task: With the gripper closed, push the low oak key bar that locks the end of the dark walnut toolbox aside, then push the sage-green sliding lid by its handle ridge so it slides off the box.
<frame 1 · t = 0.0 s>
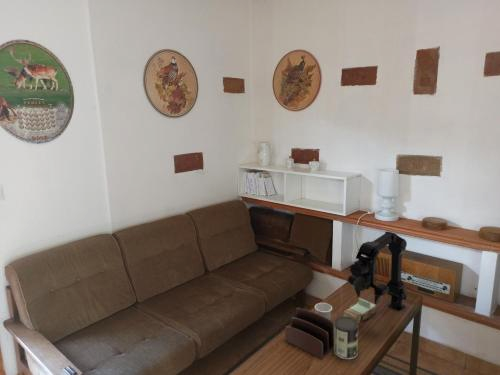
hand: (366, 300, 170), 15 cm above the table, fingers open, 9 cm apart
letter holder: (309, 344, 162), on the table
coffee can: (345, 352, 157), on the table
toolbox: (362, 313, 185), on the table
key: (352, 320, 179), on the table
dixie cup: (323, 325, 176), on the table
lid: (363, 304, 184), point 5 cm above the table, slide at 0.0 cm
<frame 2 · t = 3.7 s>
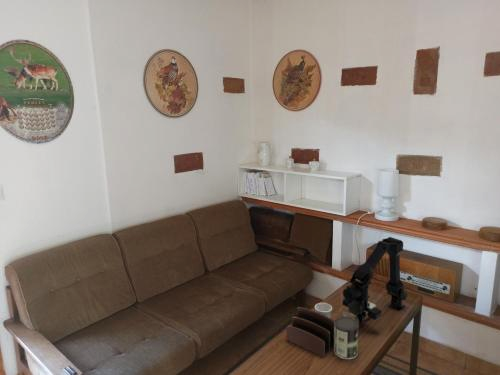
hand: (360, 323, 175), 1 cm above the table, fingers closed
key: (351, 320, 179), on the table, touching gripper
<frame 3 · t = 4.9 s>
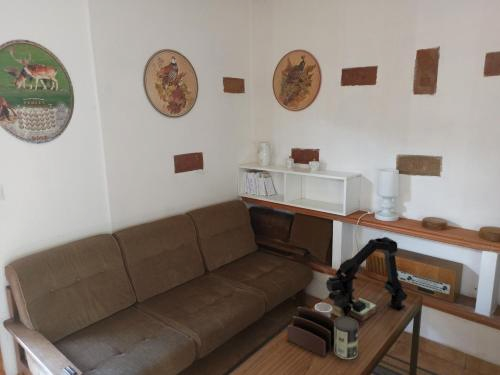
hand: (346, 315, 181), 1 cm above the table, fingers closed
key: (337, 313, 186), on the table, touching gripper
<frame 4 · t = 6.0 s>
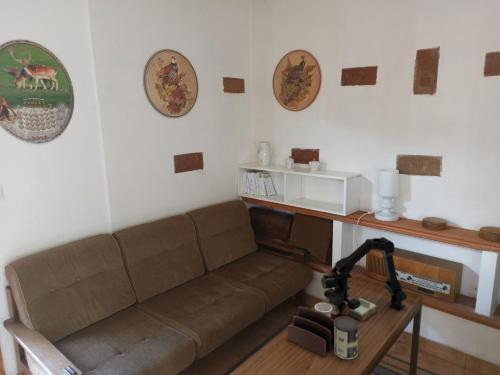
hand: (341, 313, 184), 1 cm above the table, fingers closed
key: (332, 310, 188), on the table, touching gripper
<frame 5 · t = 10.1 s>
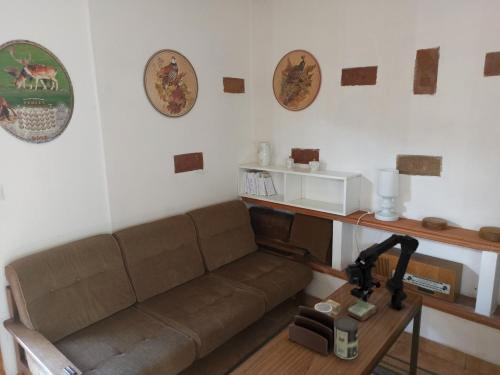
hand: (364, 303, 185), 5 cm above the table, fingers closed
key: (332, 311, 188), on the table
lid: (361, 305, 183), point 5 cm above the table, slide at 1.1 cm, touching gripper
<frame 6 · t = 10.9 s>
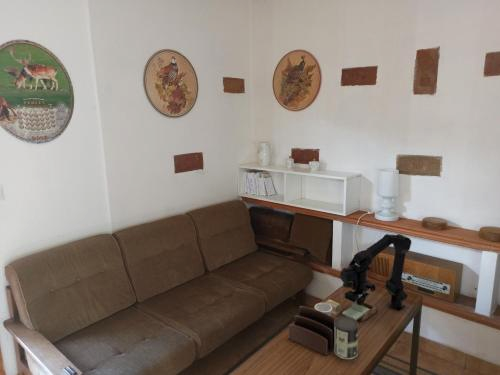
hand: (359, 306, 182), 5 cm above the table, fingers closed
lid: (356, 308, 180), point 5 cm above the table, slide at 5.8 cm, touching gripper
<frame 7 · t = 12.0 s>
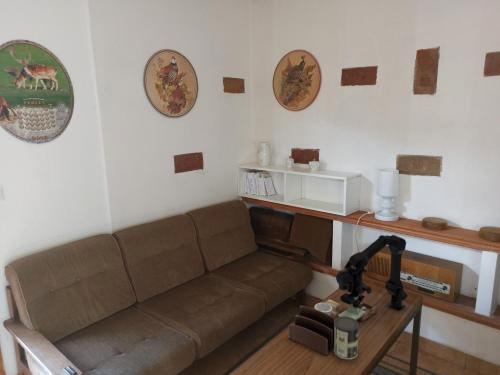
hand: (355, 309, 180), 5 cm above the table, fingers closed
lid: (352, 311, 178), point 5 cm above the table, slide at 9.4 cm, touching gripper
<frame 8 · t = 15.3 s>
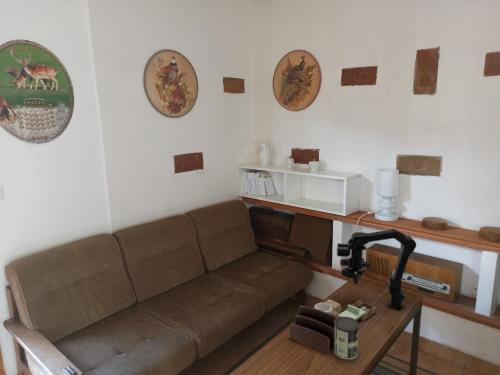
hand: (355, 283, 191), 12 cm above the table, fingers closed
lid: (352, 311, 178), point 5 cm above the table, slide at 9.4 cm
at the end: lid slide at 9.4 cm; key moved 12.1 cm from its start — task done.
